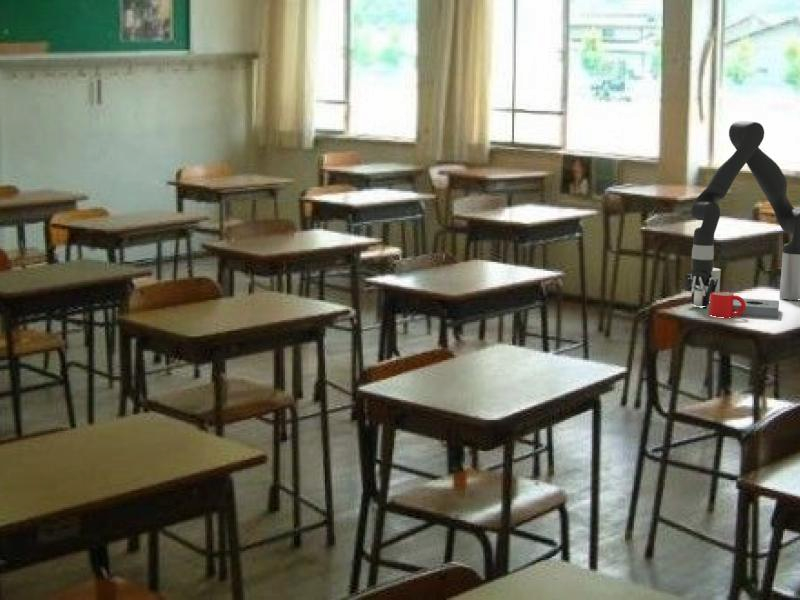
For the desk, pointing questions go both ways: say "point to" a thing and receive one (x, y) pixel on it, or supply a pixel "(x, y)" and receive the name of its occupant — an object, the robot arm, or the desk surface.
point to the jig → (758, 308)
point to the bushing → (698, 297)
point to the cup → (715, 275)
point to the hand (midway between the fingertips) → (699, 304)
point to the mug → (724, 304)
